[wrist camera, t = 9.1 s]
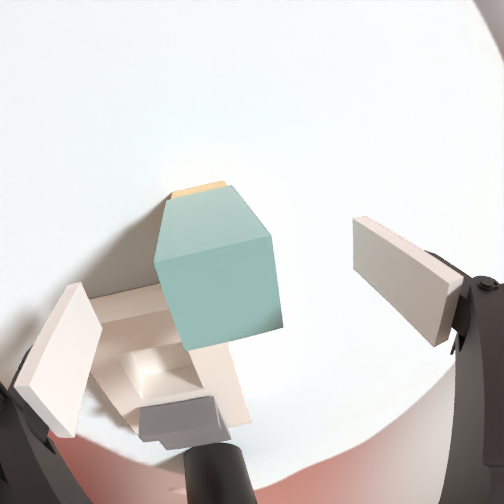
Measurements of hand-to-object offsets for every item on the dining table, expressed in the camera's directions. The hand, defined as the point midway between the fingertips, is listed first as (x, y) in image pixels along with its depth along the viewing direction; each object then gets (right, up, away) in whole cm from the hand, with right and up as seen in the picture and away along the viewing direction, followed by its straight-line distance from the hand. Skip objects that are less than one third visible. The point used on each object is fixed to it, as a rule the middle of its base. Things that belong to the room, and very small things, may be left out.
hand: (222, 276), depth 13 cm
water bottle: (-4, -28, +23) cm, 36 cm away
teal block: (-2, +4, +9) cm, 10 cm away
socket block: (-7, -9, +13) cm, 17 cm away
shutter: (-5, -15, +12) cm, 20 cm away
